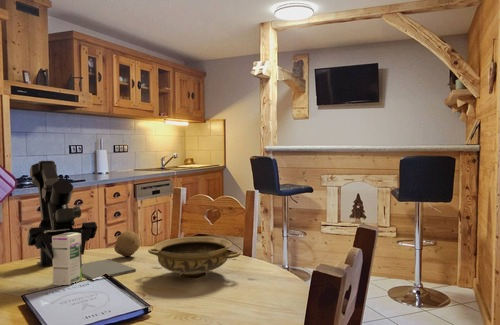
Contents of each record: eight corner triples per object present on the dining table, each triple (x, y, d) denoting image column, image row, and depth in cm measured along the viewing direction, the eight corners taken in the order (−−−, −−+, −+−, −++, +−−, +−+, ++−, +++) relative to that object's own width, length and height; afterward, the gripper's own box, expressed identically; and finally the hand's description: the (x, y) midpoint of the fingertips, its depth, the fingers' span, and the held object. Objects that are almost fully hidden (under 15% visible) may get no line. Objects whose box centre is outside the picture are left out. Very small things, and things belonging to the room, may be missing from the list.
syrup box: (69, 286, 109) (69, 235, 109) (51, 285, 110) (51, 235, 110) (82, 280, 114) (82, 232, 115) (65, 279, 116) (65, 231, 116)
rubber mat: (68, 268, 128) (68, 266, 128) (108, 261, 138) (108, 258, 138) (93, 280, 114) (93, 278, 114) (135, 271, 124) (135, 268, 124)
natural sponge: (145, 256, 144) (145, 230, 144) (124, 261, 137) (124, 233, 137) (132, 253, 150) (132, 228, 150) (111, 257, 143) (111, 231, 143)
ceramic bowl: (130, 284, 110) (129, 250, 110) (165, 263, 133) (165, 235, 133) (230, 290, 103) (229, 254, 103) (249, 267, 127) (248, 237, 127)
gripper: (28, 200, 110) (34, 244, 101) (95, 196, 121) (106, 235, 112) (25, 224, 116) (30, 267, 107) (89, 218, 127) (98, 257, 119)
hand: (68, 256), depth 111 cm, fingers closed on syrup box, 8 cm apart
